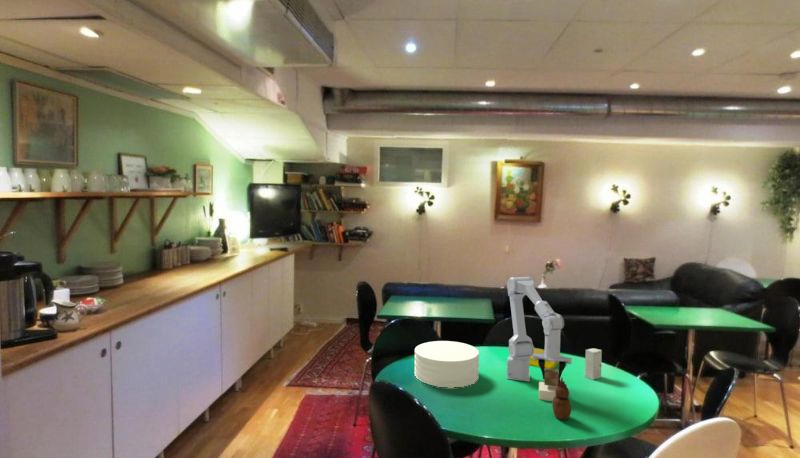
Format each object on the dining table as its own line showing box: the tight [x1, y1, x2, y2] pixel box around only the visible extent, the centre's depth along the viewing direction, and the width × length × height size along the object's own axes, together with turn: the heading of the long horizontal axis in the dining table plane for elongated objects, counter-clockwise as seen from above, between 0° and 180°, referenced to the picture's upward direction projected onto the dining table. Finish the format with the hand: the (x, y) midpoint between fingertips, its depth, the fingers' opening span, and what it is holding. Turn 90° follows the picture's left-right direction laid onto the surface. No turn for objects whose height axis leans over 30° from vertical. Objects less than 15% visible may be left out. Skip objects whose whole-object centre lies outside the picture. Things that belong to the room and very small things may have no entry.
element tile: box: [529, 347, 562, 369], centre depth 227 cm, size 15×15×5 cm
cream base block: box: [538, 381, 557, 402], centre depth 187 cm, size 9×9×4 cm
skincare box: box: [584, 347, 603, 380], centre depth 207 cm, size 6×4×12 cm
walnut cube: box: [543, 368, 559, 386], centre depth 186 cm, size 5×5×5 cm
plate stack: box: [414, 340, 480, 389], centre depth 207 cm, size 28×28×12 cm
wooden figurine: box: [551, 375, 572, 421], centre depth 168 cm, size 7×6×15 cm
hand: (551, 379), depth 186 cm, fingers closed on walnut cube, 5 cm apart
